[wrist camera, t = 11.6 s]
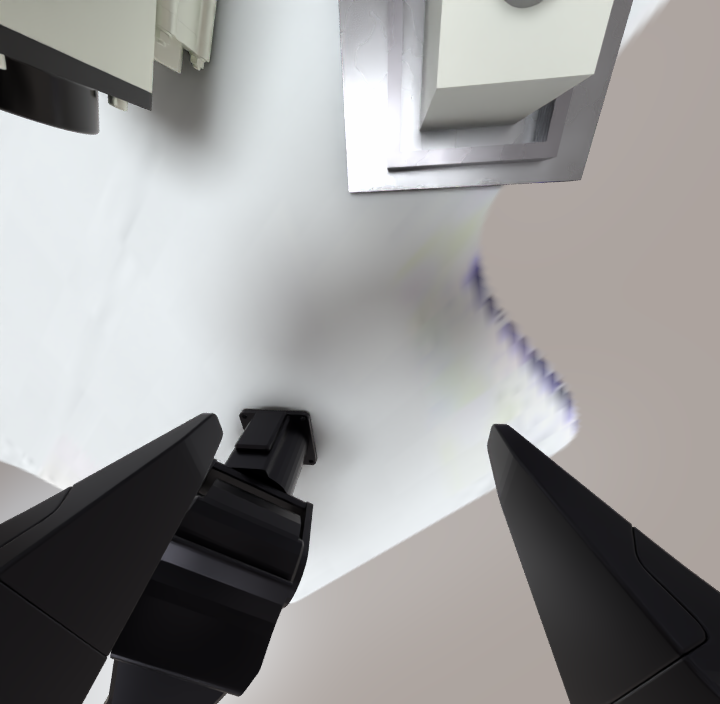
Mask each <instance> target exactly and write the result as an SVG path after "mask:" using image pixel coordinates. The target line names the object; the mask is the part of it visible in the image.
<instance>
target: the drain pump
mask: <svg viewBox="0 0 720 704" xmlns="http://www.w3.org/2000/svg"><path fill="white" fill-rule="evenodd" d="M613 1H614V0H425V19H424V40H423V61H422V82H421V103H420V124H419V132H422V131H435V130H448V129H461V128H475V127H488V126H501V125H514V124H515V123H517V122H519V121H520V120H522V119H523V118H525V117H527V116H528V115H530V114H531V113H533V112H535V111H536V110H538V109H539V108H541V107H542V106H544V105H546V104H547V103H549V102H550V101H552V100H554V99H555V98H557V97H558V96H560V95H562V94H563V93H565V92H566V91H568V90H569V89H571V88H573V87H574V86H576V85H577V84H579V83H581V82H582V81H584V80H585V79H587V78H589V77H590V76H592V75H593V74H594V72H595V69H596V65H597V61H598V57H599V54H600V50H601V46H602V42H603V39H604V35H605V31H606V27H607V24H608V20H609V16H610V13H611V9H612V5H613Z"/></svg>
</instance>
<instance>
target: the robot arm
mask: <svg viewBox="0 0 720 704" xmlns="http://www.w3.org/2000/svg"><path fill="white" fill-rule="evenodd" d="M239 417H240V420H241V423H242V426H243V429H244V432H243V433H242V435H241V436H240V438H239V439H238V441H237V443H236V444H235V449H234V450H233V452H232V453H231V455H230V456H229V458H228V460H227V461H226V463H225V464H222V463H220V462H218V461H217V460H216V459H214V456H215V454H216V451H217V449H218V447H219V444H220V442H221V440H222V436H223V431H222V428H221V425H220V423H219V420H218V417H217V416H216V415H215V414H213V413H202V414H200V415H198V416H196V417H195V418H193V419H191V420H189V421H187V422H186V423H184V424H182V425H180V426H178V427H177V428H175V429H173V430H171V431H169V432H168V433H166V434H164V435H162V436H160V437H159V438H157V439H155V440H153V441H151V442H150V443H148V444H146V445H144V446H142V447H141V448H139V449H137V450H135V451H133V452H132V453H130V454H128V455H126V456H124V457H123V458H121V459H119V460H117V461H115V462H114V463H112V464H110V465H108V466H106V467H105V468H103V469H101V470H99V471H97V472H96V473H94V474H92V475H90V476H88V477H87V478H85V479H83V480H81V481H79V482H78V483H76V484H74V485H73V487H68V488H67V489H65V490H63V491H61V492H60V493H58V494H56V495H54V496H52V497H50V498H49V499H47V500H45V501H43V502H41V503H39V504H38V505H36V506H34V507H32V508H30V509H28V510H27V511H25V512H23V513H21V514H19V515H17V516H15V517H13V518H11V519H9V520H7V521H5V522H3V523H1V524H0V704H82V703H83V701H84V699H85V698H86V696H87V694H88V692H89V690H90V689H91V687H92V685H93V683H94V681H95V679H96V677H97V676H98V674H99V672H100V670H101V668H102V666H103V665H104V663H105V661H106V659H107V656H108V655H109V653H110V652H111V655H110V658H112V659H114V664H113V671H112V678H111V684H110V691H109V695H108V697H107V699H106V701H105V702H104V704H217V703H218V702H219V701H220V700H221V699H222V698H223V697H224V696H225V695H226V694H227V693H228V694H232V695H235V696H241V695H242V694H243V693H244V691H245V690H246V689H247V687H248V686H249V685H250V683H251V682H252V680H253V679H254V678H255V677H256V675H257V674H258V672H259V670H260V668H261V665H262V662H263V659H264V656H265V653H266V650H267V647H268V644H269V641H270V638H271V635H272V632H273V630H274V627H275V624H276V622H277V619H278V617H279V614H280V612H281V609H282V608H285V607H286V606H287V605H288V604H289V602H290V601H291V599H292V598H293V596H294V594H295V592H296V590H297V588H298V586H299V583H300V581H301V578H302V575H303V572H304V569H305V566H306V562H307V557H308V551H309V541H310V531H311V521H312V511H313V504H311V503H309V502H304V501H302V500H300V499H297V498H295V497H293V496H292V495H293V492H294V489H295V486H296V483H297V480H298V477H299V474H300V471H301V468H302V465H303V464H305V465H314V464H315V463H316V461H317V456H316V450H315V444H314V438H313V432H312V426H311V420H310V415H309V414H308V413H307V412H298V411H268V410H243V411H242V412H241V413H240V415H239ZM303 417H305V418H303ZM487 449H488V454H489V459H490V463H491V467H492V471H493V476H494V480H495V484H496V489H497V493H498V497H499V500H500V504H501V507H502V510H503V513H504V515H505V518H506V521H507V524H508V527H509V530H510V533H511V535H512V538H513V541H514V544H515V547H516V550H517V553H518V555H519V558H520V561H521V564H522V567H523V569H524V573H525V575H526V578H527V581H528V584H529V587H530V590H531V593H532V595H533V598H534V601H535V604H536V607H537V610H538V613H539V615H540V618H541V621H542V624H543V627H544V630H545V632H546V635H547V638H548V641H549V644H550V647H551V649H552V652H553V655H554V658H555V661H556V664H557V667H558V670H559V672H560V675H561V678H562V681H563V684H564V687H565V689H566V692H567V695H568V698H569V701H570V704H720V592H719V591H718V590H716V589H715V588H714V587H712V586H711V585H709V584H708V583H707V582H705V581H704V580H703V579H701V578H700V577H699V576H697V575H696V574H695V573H693V572H692V571H691V570H689V569H688V568H687V567H685V566H684V565H683V564H681V563H680V562H679V561H678V560H676V559H675V558H674V557H672V556H671V555H670V554H669V553H667V552H666V551H665V550H664V549H662V548H661V547H660V546H658V545H657V544H656V543H654V542H653V541H652V540H651V539H650V538H648V537H647V536H646V535H645V534H643V533H642V532H641V531H640V530H638V529H637V528H636V527H632V524H631V523H630V522H628V521H627V520H626V519H624V518H623V517H622V516H621V515H620V514H618V513H617V512H616V511H615V510H613V509H612V508H611V507H610V506H608V505H607V504H606V503H605V502H603V501H602V500H601V499H600V498H598V497H597V496H596V495H595V494H593V493H592V492H591V491H590V490H588V489H587V488H586V487H585V486H584V485H582V484H581V483H580V482H579V481H577V480H576V479H575V478H574V477H572V476H571V475H570V474H569V473H567V472H566V471H565V470H563V469H562V468H561V467H560V466H558V465H557V464H556V463H555V462H554V461H552V460H551V459H550V458H549V457H548V456H546V455H545V454H544V453H543V452H541V451H540V450H539V449H538V448H536V447H535V446H534V445H533V444H531V443H530V442H529V441H528V440H526V439H525V438H524V437H523V436H521V435H520V434H519V433H518V432H516V431H515V430H514V429H513V428H512V427H510V426H509V425H507V424H493V425H492V427H491V431H490V435H489V439H488V443H487Z"/></svg>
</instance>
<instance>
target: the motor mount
mask: <svg viewBox="0 0 720 704" xmlns="http://www.w3.org/2000/svg"><path fill="white" fill-rule="evenodd" d="M338 1H339V19H340V38H341V57H342V75H343V94H344V112H345V131H346V149H347V168H348V187H349V192H350V193H356V192H375V191H394V190H413V189H432V188H451V187H470V186H489V185H507V184H526V183H544V182H564V181H576V180H581V178H582V174H583V171H584V167H585V164H586V161H587V157H588V154H589V150H590V147H591V143H592V139H593V136H594V133H595V129H596V126H597V123H598V119H599V116H600V112H601V109H602V105H603V102H604V98H605V95H606V92H607V88H608V85H609V81H610V78H611V74H612V71H613V67H614V64H615V61H616V57H617V54H618V50H619V47H620V43H621V40H622V37H623V33H624V30H625V26H626V23H627V19H628V16H629V12H630V9H631V6H632V2H633V0H614V1H613V5H612V9H611V13H610V16H609V20H608V24H607V27H606V31H605V35H604V39H603V42H602V46H601V50H600V54H599V57H598V61H597V65H596V69H595V72H594V74H593V75H592V76H590V77H589V78H587V79H585V80H584V81H582V82H581V83H579V84H577V85H576V86H574V87H573V88H571V89H569V90H568V91H566V92H565V93H563V94H562V95H560V96H558V97H557V98H555V99H554V100H552V101H550V102H549V103H547V104H546V105H544V106H542V107H541V108H539V109H538V110H536V111H535V112H533V113H531V114H530V115H528V116H527V117H525V118H523V119H522V120H520V121H519V122H517V123H515V124H514V125H501V126H488V127H475V128H461V129H448V130H435V131H422V132H419V124H420V103H421V82H422V61H423V40H424V19H425V0H338Z"/></svg>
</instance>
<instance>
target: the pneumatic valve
mask: <svg viewBox="0 0 720 704" xmlns="http://www.w3.org/2000/svg"><path fill="white" fill-rule="evenodd" d="M216 3H217V0H0V110H2V111H5V112H8V113H11V114H14V115H17V116H20V117H23V118H26V119H29V120H33V121H36V122H39V123H42V124H46V125H49V126H53V127H56V128H60V129H64V130H68V131H72V132H77V133H82V134H89V135H96V134H98V133H99V103H98V91H100V92H103V93H105V94H108V103H109V104H110V105H112V106H114V107H116V108H118V109H120V110H123V111H128V102H129V103H132V104H134V105H137V106H140V107H142V108H145V109H148V110H150V111H151V107H152V85H153V64H154V60H155V61H157V62H159V63H161V64H162V65H164V66H166V67H168V68H170V69H171V70H173V71H175V72H177V73H179V74H180V73H181V70H182V58H183V49H185V50H187V51H189V54H191V57H190V62H191V63H193V67H194V68H195V69H197V70H199V71H200V69H203V68H204V63H206V62H208V63H209V61H210V53H211V45H212V36H213V28H214V20H215V12H216ZM150 92H151V93H150Z"/></svg>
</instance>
